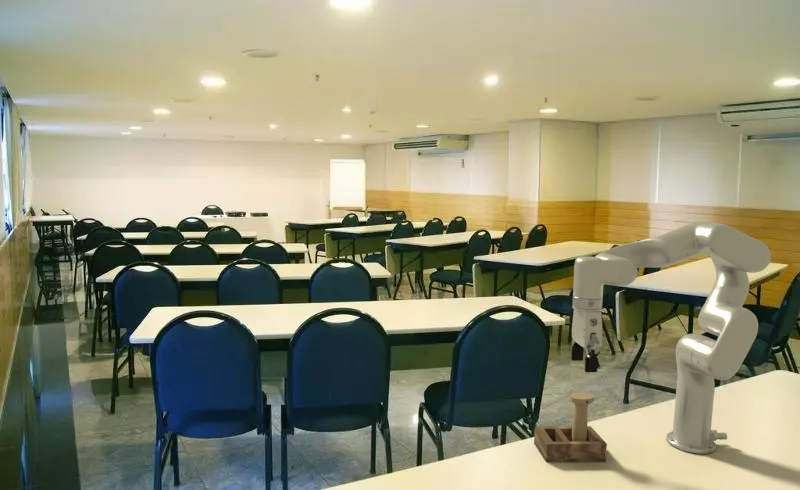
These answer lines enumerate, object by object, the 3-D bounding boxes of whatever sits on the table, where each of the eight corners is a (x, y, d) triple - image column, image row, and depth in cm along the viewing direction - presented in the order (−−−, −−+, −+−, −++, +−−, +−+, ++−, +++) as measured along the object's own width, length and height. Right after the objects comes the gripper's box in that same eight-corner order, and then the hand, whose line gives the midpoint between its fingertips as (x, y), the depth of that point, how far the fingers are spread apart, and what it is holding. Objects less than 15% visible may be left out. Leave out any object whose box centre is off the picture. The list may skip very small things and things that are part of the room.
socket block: (589, 443, 167) (590, 426, 166) (605, 461, 156) (606, 443, 155) (534, 443, 166) (534, 426, 165) (546, 462, 155) (547, 444, 154)
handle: (594, 451, 160) (597, 397, 158) (573, 454, 158) (577, 400, 156) (583, 443, 164) (586, 391, 162) (563, 446, 162) (566, 393, 160)
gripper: (615, 310, 148) (610, 376, 150) (588, 296, 165) (585, 356, 167) (585, 310, 147) (582, 376, 149) (562, 296, 165) (559, 356, 167)
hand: (583, 365), depth 158 cm, fingers open, 9 cm apart
